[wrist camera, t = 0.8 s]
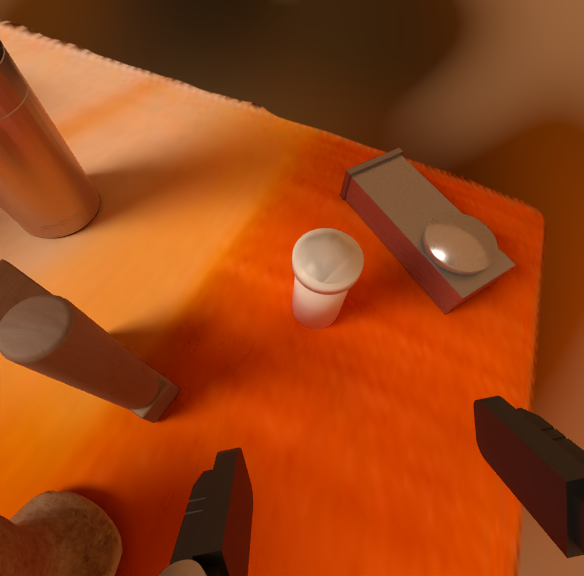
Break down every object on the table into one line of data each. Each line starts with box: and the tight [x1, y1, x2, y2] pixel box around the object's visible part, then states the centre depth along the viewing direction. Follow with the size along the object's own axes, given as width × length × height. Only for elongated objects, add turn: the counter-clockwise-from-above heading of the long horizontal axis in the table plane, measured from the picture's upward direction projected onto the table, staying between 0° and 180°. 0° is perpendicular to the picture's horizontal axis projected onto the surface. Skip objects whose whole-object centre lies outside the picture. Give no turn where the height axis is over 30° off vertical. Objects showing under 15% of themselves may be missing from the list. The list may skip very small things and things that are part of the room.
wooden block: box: [0, 259, 180, 423], centre depth 25 cm, size 4×11×18 cm, turn 59°
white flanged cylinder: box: [292, 228, 364, 329], centre depth 33 cm, size 6×6×10 cm
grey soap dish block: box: [340, 148, 516, 314], centre depth 40 cm, size 20×8×5 cm, turn 31°
